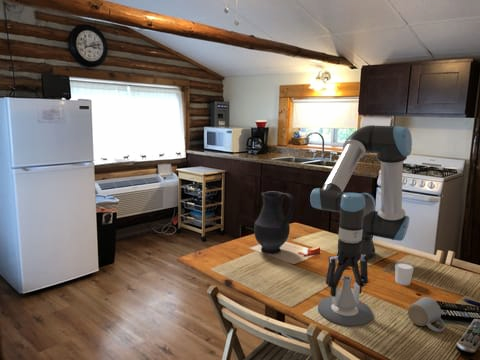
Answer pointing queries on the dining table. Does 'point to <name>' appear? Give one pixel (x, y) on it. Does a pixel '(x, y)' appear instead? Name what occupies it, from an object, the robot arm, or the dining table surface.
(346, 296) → the flask
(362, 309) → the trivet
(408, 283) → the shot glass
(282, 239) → the pitcher
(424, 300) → the ceramic mug
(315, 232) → the dining table surface
